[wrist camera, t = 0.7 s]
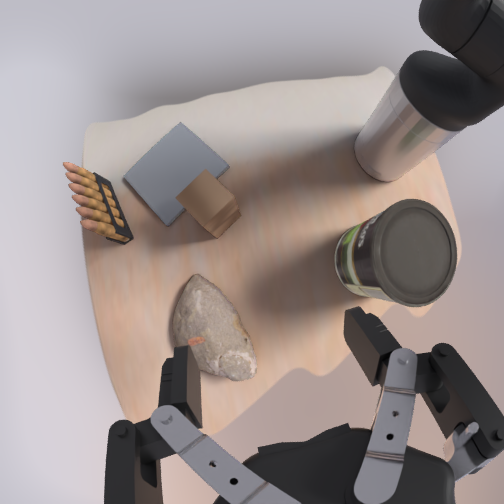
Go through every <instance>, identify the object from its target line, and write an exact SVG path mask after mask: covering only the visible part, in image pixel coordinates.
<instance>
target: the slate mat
mask: <svg viewBox="0 0 504 504" xmlns="http://www.w3.org/2000/svg"><path fill="white" fill-rule="evenodd" d="M228 168H229V165H228V164H227V163H226V162H225V161H224V160H223V159H222V158H221V157H220V156H219V155H217V154H216V153H215V152H214V151H213V150H212V149H211V148H210V147H209V146H207V145H206V144H205V143H204V142H203V141H202V140H201V139H200V138H198V137H197V136H196V135H195V134H194V133H193V132H192V131H191V130H189V129H188V128H187V127H186V126H185V125H184V124H182V123H181V122H180V123H179V124H178V125H177V126H175V127H174V128H173V129H172V130H171V131H170V132H169V133H168V134H166V135H165V136H164V137H163V138H162V139H161V140H160V141H159V142H158V143H157V144H156V145H154V146H153V147H152V148H151V149H150V150H149V151H148V152H147V153H146V154H145V155H144V156H143V157H142V158H141V159H140V160H139V161H138V162H137V163H136V164H135V165H134V166H133V167H132V168H131V169H130V170H129V171H128V172H127V173H126V174H125V175H124V178H125V179H126V180H127V181H128V182H129V183H130V185H131V186H132V187H133V188H134V189H135V190H136V192H137V193H138V194H139V195H140V196H141V197H142V198H143V200H144V201H145V202H146V203H147V204H148V205H149V206H150V208H151V209H152V210H153V211H154V212H155V213H156V214H157V216H158V217H159V218H160V219H161V220H162V221H163V222H164V223H165V224H166V225H167V226H169V225H170V224H171V223H172V222H173V221H174V220H175V219H176V218H177V217H178V216H179V215H180V214H181V213H182V212H183V211H184V210H185V208H184V207H183V206H182V205H181V203H180V202H179V201H178V200H177V199H176V198H175V197H176V196H177V195H178V194H180V193H181V192H182V191H183V190H184V189H185V188H186V187H187V186H188V185H189V184H190V183H191V182H192V181H193V180H194V179H195V178H196V177H197V176H198V175H199V174H200V173H202V172H203V171H204V170H205V169H207V170H208V171H209V172H210V173H211V174H212V175H213V176H214V177H215V178H216V179H217V178H218V177H220V176H221V175H222V174H223V173H224V172H225V171H226V170H227V169H228Z"/></svg>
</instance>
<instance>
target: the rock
mask: <svg viewBox="0 0 504 504" xmlns="http://www.w3.org/2000/svg"><path fill="white" fill-rule="evenodd" d="M173 333H174V341H175V345H176V347H178V346H185V345H190V347H191V349H192V352H193V354H194V357H195V359H196V361H197V364H198V367H199V369H200V370H205V371H206V372H208V373H210V374H214V375H217V376H218V375H220V376H223V377H226V378H229V379H230V380H232V381H244V380H248V379H251V378H253V377H254V376H255V374H256V371H257V368H256V366H257V359H256V355H255V353H254V349H253V345H252V342H251V340H250V336H249V335H248V333H247V332H246V330H245V329H244V328H243V327H242V324H241V323H240V318H239V315H238V313H237V312H236V310H235V309H234V307H233V305H232V303H231V302H230V301H229V300H228V299H227V297H226V296H225V295H224V294H223V293H222V292H221V290H220V289H219V288H218V287H216V286H215V285H214V284H213V283H211V282H209V281H208V280H206V279H205V278H203V277H202V276H200V275H199V274H195V275H194V276H193V277H192V278H191V279H190V281H189V283H188V284H187V285H186V287H185V289H184V291H183V293H182V295H181V297H180V299H179V301H178V304H177V307H176V310H175V313H174V317H173Z"/></svg>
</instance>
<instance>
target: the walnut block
mask: <svg viewBox="0 0 504 504" xmlns="http://www.w3.org/2000/svg"><path fill="white" fill-rule="evenodd" d="M175 198H176V199H177V200H178V201H179V202H180V203H181V205H182V206H183V207H184V208H185V209H186V210H187V211H188V212H189V213H190V214H191V215H192V216H193V217H194V218H195V219H196V220H197V221H198V222H199V223H200V224H201V226H202V227H204V228H205V229H206V230H207V231H208V232H210V233H211V234H212V235H213V236H214V237H216V238H217V239H218V238H219V237H220V236H221V235H222V234H223V233H224V232H225V231H226V230H227V229H228V228H229V227H230V226H231V225H232V224H233V223H234V222H235V221H236V220H237V219H238V218H239V217H240V216H241V214H240V211H239V208H238V205H237V202H236V199H235V196H234V195H233V194H232V193H231V192H230V191H228V190H227V189H226V188H225V187H224V186H223V185H222V184H221V183H220V182H219V181H218V180H217V179H216V178H215V177H214V176H213V175H212V174H211V173H210V172H209V171H208V170H207V169H205V170H204V171H203V172H202V173H200V174H199V175H198V176H197V177H196V178H195V179H194V180H193V181H192V182H191V183H190V184H189V185H188V186H187V187H186V188H185V189H184V190H183V191H182V192H181V193H180V194H178V195H177V196H176V197H175Z"/></svg>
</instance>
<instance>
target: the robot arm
mask: <svg viewBox="0 0 504 504" xmlns="http://www.w3.org/2000/svg"><path fill="white" fill-rule="evenodd" d="M419 22H420V25H421V28H422V29H423V31H424V32H425V33H426V34H427V35H428V36H429V37H430V38H431V39H432V40H433V41H434V42H436V43H437V44H438V45H439V46H441V47H442V48H444V49H445V50H446V51H448V52H449V53H451V54H452V55H453V56H454V57H456V58H457V59H455V58H451V57H448V56H445V55H443V54H439V53H436V52H432V51H426V50H425V51H424V50H423V51H417V52H414V53H413V54H411V55H410V56H409V57H408V58H407V59H406V61H405V62H404V64H403V66H402V67H401V69H400V70H399V72H398V74H397V75H396V77H395V78H394V80H393V82H392V83H391V85H390V87H389V88H388V90H387V91H386V93H385V95H384V96H383V98H382V99H381V101H380V102H379V104H378V106H377V107H376V109H375V110H374V112H373V113H372V115H371V116H370V118H369V119H368V121H367V123H366V124H365V125H364V127H363V129H362V130H361V132H360V133H359V135H358V136H357V138H356V141H355V146H354V150H355V155H356V158H357V161H358V162H359V164H360V166H361V167H362V168H363V169H364V171H365V172H367V173H368V174H369V175H370V176H372V177H374V178H375V179H378V180H380V181H386V182H389V181H395V180H397V179H399V178H400V177H402V176H403V175H404V174H406V173H407V172H408V171H410V170H411V169H413V168H414V167H415V166H417V165H418V164H419V163H421V162H422V161H423V160H424V159H426V158H427V157H428V156H430V155H431V154H432V153H434V152H435V151H436V150H438V149H439V148H440V147H441V146H443V145H444V144H445V143H447V142H448V141H449V140H450V139H451V138H453V137H454V136H455V135H457V134H458V133H459V132H460V131H462V130H463V129H464V128H466V127H467V126H470V125H474V124H477V123H479V122H480V121H482V120H483V119H485V118H486V117H487V116H489V115H490V114H492V113H493V112H495V111H496V110H498V109H499V108H500V107H502V106H503V105H504V0H422V1H421V4H420V8H419ZM344 338H345V341H346V343H347V345H348V346H349V348H350V350H351V351H352V353H353V355H354V356H355V358H356V359H357V361H358V363H359V365H360V366H361V368H362V370H363V371H364V373H365V375H366V376H367V378H368V380H369V381H370V383H371V385H372V386H375V385H377V384H380V386H381V387H382V388H381V391H380V395H379V399H378V403H377V407H376V410H375V414H374V417H373V421H372V424H371V427H370V429H365V428H350V427H349V424H348V423H346V424H343V425H341V426H338V427H334V428H332V429H328V430H326V431H324V432H322V433H321V434H319V435H317V436H315V437H313V438H311V439H310V440H308V441H305V442H285V443H284V442H282V443H276V444H272V445H267V446H262V447H258V452H259V453H257V454H255V455H253V456H251V457H249V458H248V459H247V460H245V461H244V462H243V463H242V464H241V463H240V462H239V461H238V460H236V459H235V458H234V457H233V456H231V455H230V454H229V453H228V452H226V451H225V450H224V449H223V448H222V447H221V446H219V445H218V444H217V443H216V442H215V441H214V440H212V439H211V438H210V437H209V436H208V435H206V434H205V435H204V434H203V433H202V432H201V431H199V430H198V429H199V428H202V409H201V383H200V371H199V367H198V364H197V361H196V359H195V357H194V354H193V352H192V349H191V347H190V345H185V346H178V347H175V348H174V357H173V358H167V359H166V361H165V362H164V364H163V366H162V373H161V375H162V376H161V383H160V392H159V403H158V408H157V409H156V410H155V411H154V412H153V413H152V415H151V417H150V418H149V419H147V420H144V421H141V422H138V423H136V424H133V423H132V422H130V421H128V420H119V421H117V422H115V423H114V424H113V425H112V426H111V428H110V429H109V435H108V444H107V455H106V470H105V490H104V504H163V496H162V483H161V466H160V459H162V458H165V457H168V456H171V455H173V454H176V453H177V454H178V455H179V456H180V457H181V458H182V459H183V460H184V461H185V462H186V463H187V464H188V465H189V466H190V467H191V468H192V469H193V470H194V471H195V472H196V473H197V474H198V475H199V476H200V477H201V478H202V479H203V480H204V481H205V482H206V483H207V484H209V485H210V486H211V487H212V488H213V489H214V490H215V491H216V492H217V493H219V494H220V495H219V496H218V498H217V499H216V500H215V502H214V503H213V504H456V503H455V496H454V487H455V482H456V481H458V480H459V479H461V478H463V477H464V476H466V475H467V474H474V473H476V472H478V471H479V470H480V469H482V468H483V467H484V466H485V465H487V464H488V463H489V462H490V461H491V460H493V459H494V458H495V457H496V456H497V455H498V454H499V453H500V452H502V451H503V450H504V416H503V414H502V413H501V411H500V410H499V408H498V407H497V405H496V404H495V402H494V401H493V400H492V398H491V397H490V395H489V394H488V392H487V391H486V390H485V388H484V387H483V385H482V384H481V383H480V381H479V380H478V379H477V377H476V376H475V375H474V373H473V372H472V371H471V369H470V368H469V367H468V365H467V364H466V363H465V361H464V360H463V359H462V358H461V356H460V355H459V354H458V353H457V351H456V350H455V349H454V348H453V347H452V346H451V345H449V344H446V343H439V344H437V345H435V346H434V347H433V348H432V351H431V352H428V353H422V354H415V353H414V352H413V351H412V350H410V349H407V348H402V347H401V346H400V344H399V343H398V342H397V341H396V339H395V338H394V337H393V335H392V334H391V333H390V332H389V331H388V330H387V328H386V327H385V325H383V323H382V322H381V320H380V319H379V318H378V317H376V316H375V315H373V314H371V313H368V314H366V313H365V312H364V311H363V310H362V308H361V307H359V306H358V307H355V308H352V309H348V310H346V311H345V319H344ZM417 393H420V394H421V395H422V397H423V399H424V401H425V402H426V404H427V406H428V407H429V409H430V411H431V412H432V414H433V416H434V418H435V420H436V421H437V423H438V425H439V427H440V429H441V431H442V432H443V434H444V436H445V438H446V441H445V443H444V447H443V449H444V454H445V460H443V459H441V458H439V457H436V456H433V455H431V454H428V453H425V452H423V451H420V450H417V449H415V448H413V447H410V446H408V445H407V440H408V436H409V431H410V426H411V421H412V415H413V410H414V403H415V397H416V394H417Z"/></svg>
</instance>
